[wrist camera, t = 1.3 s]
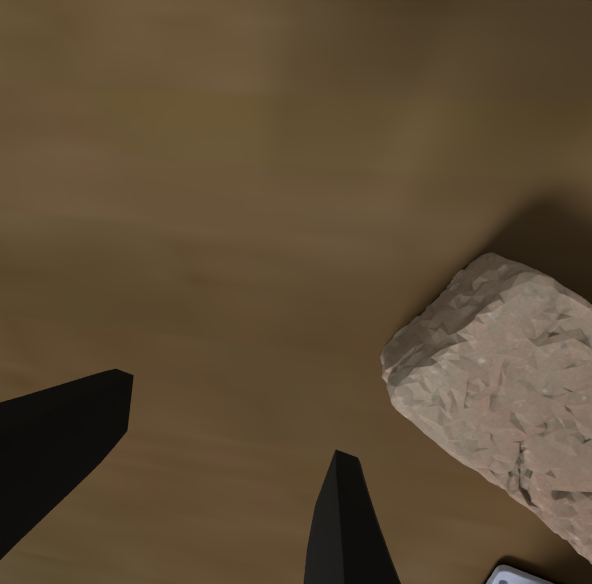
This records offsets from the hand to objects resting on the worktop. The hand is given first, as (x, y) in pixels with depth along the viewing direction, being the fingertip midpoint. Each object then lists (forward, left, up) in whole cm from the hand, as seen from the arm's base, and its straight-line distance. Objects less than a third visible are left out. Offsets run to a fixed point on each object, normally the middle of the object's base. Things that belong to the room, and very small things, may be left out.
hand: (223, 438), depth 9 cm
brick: (0, -14, -10) cm, 17 cm away
